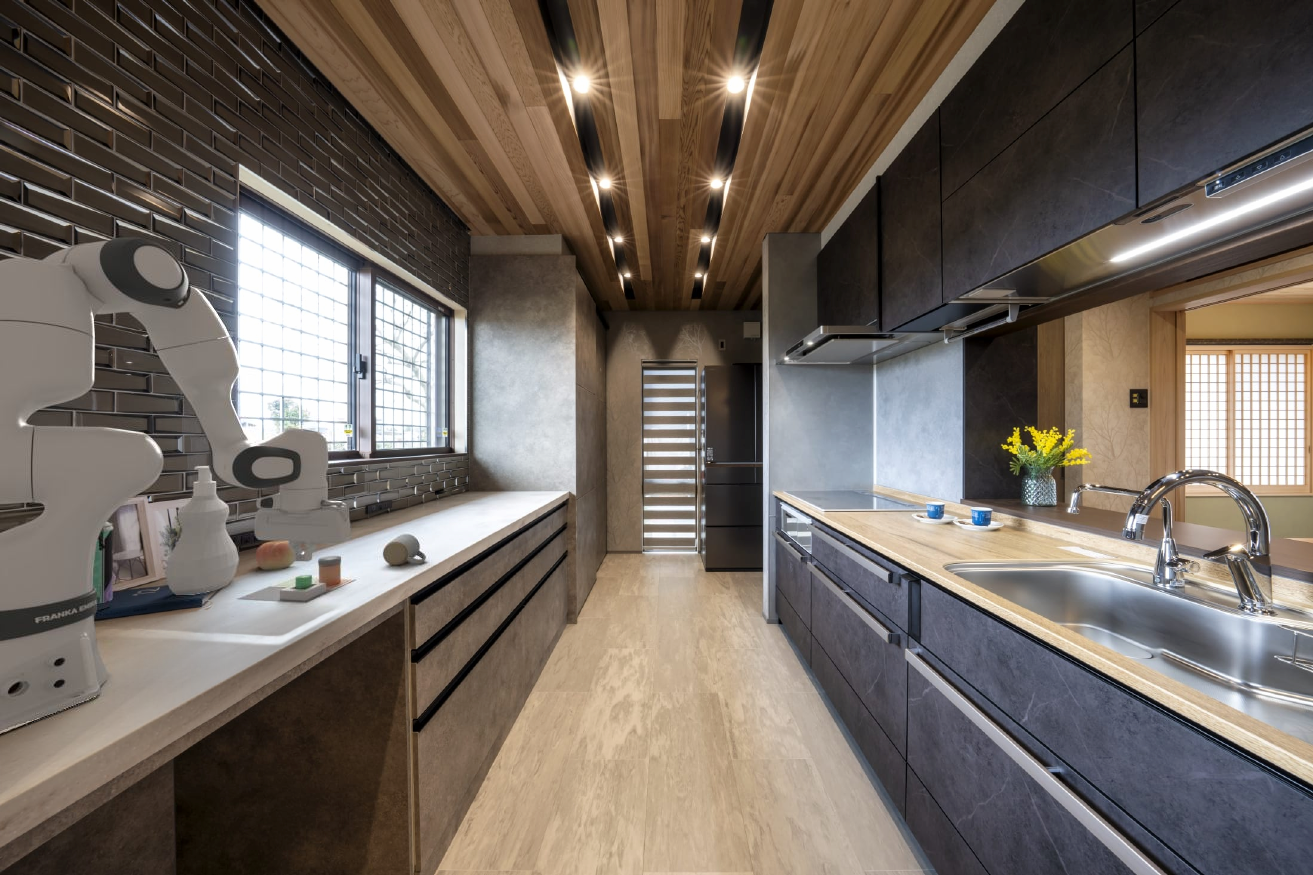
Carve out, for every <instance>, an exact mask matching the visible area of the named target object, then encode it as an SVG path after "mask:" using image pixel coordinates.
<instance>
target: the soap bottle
mask: <svg viewBox="0 0 1313 875" xmlns="http://www.w3.org/2000/svg"><path fill="white" fill-rule="evenodd" d="M193 470H195V471H196V470H197V472H198V475H197V476H198V477H197V481H193V487H192V488H193V490H192V491H193V492H192V494H193V495H192V496H191V499H190V500H189V501H187V503H186V504H185V505H184V506H183V507H182V508H181V509H179V511H178V515H177V519H178V523H179V525H180V526H181V535H180V537H179V539H178V542H177V543H176V544H175V546H174V548H173V550H172V552H171V553H170V555H169V557H168V560H167V564H166V568H165V571H164V574H165V578H166V581H167V584H168V588H169V590H170V591H171V592H172V593H173V594H175V595H176V596H177V595H186V594H197V593H205V592H207V591H212V592H215V591H217V590H221V589H223V588H224V587H227V586H228V585H229V584H230V583H231V581H232V580H233V578H234V577H235V575H236V571H237V569H238V565H239V562H240V557H239V555H238V554H239V553H238V550H237V546H236V544H235V543H234V542H233V539H232V538H231V536H230V535H229V533H228V531H227V528H226V527H227V526H226V525H227V524H226V522H227V519H228V517H229V514H230V508H229V505H228V504H227V503H226V502H225V501H223V500H222V499H220V498H219V497H218V494H217V481H214V480H212V478H213V475H212V474H211V472H210V469H209V465H201V466H198V465H197V466H195V467H193ZM205 594H206V593H205Z"/></svg>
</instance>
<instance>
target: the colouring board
mask: <svg viewBox="0 0 1313 875" xmlns="http://www.w3.org/2000/svg"><path fill="white" fill-rule="evenodd" d="M296 577H297V576H294V577H291V578H288V579H286V580H283V581H280V582H277V583H275V584H271V585H270V586H267V587H265V588H262V589H259V590H257V591H254V592H251V593H248V594H246V595H244V596H241V597H238V598H237V600H244V601H245V600H247V601H264V602H265V601H268V602H269V601H270V602H282V603H283V602H289V603H303V604H305V603H309V602H311V601H314V600H317V599H318V598H320V597H322V596H324V595H327V594H329V593H331V592H333V591H335V590H337V589H339V588H342V587H344V586H346V585H348V584H351V583H353V582H355V581H356V579H355V578H354V579H352V578H351V579H349V578H341V582H340V583H338V584H336V585H331V586H326V583H319V577H313V576H312V587H310V588H307V589H295V581H296Z"/></svg>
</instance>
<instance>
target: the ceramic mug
mask: <svg viewBox="0 0 1313 875" xmlns="http://www.w3.org/2000/svg"><path fill="white" fill-rule="evenodd" d="M420 549H421V546H420V542H419V540H418V538H416V536H414V535H413V534H410V533H403V534H400V535H398V536H397V537H396V538H394V539H392V540H390V541H389V542H388V543H387V544H386V545H385V547H384V548H383V551H382V557H383V559H384V561H385V562H386V563H387V564H389V565H390V566H400V565H403V564H405V563H407V562H408V563H411V564H413V565H414V564H415V565H421V564H422V565H423V563H425V561H426V558H427V556H426V554H425V553H423V552H422V551H420ZM416 557H418V558H419V559H418V558H416Z"/></svg>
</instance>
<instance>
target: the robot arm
mask: <svg viewBox="0 0 1313 875" xmlns="http://www.w3.org/2000/svg"><path fill="white" fill-rule="evenodd" d="M117 313H119V314H120V313H129V314H130V315H131V316H132V317H134V318H135V319H136V320H138V321H139V322H140V323H141V325H143V327H144V328H145V330H146V333H147V335H148V337H149V339H150V342H151V344H152V345H153V348H154V350H155V351H156V354H157V355H158V356H159V359H160V361H161V362H162V363H163V366H164V367H165V368H166V370H167V371H168V373H169V375H170V377H172V379H173V380H174V382H175V383H176V384H177V386H178V387H179V389H180V390H181V392H182V393H183V395H184V396H185V398H186V400H188V402H189V404H190V407H191V409H192V411H193V413H194V415H195V417H196V420H197V422H198V424H199V426H200V428H201V430H202V432H203V435H204V437H205V439H206V442H207V445H208V466H209V469H210V472H211V474H212V478H214V479H215V480H217V482H219V483H220V484H223V485H224V486H225V485H226V486H229V487H237V488H238V487H239V488H244V489H249V490H264V489H268V488H273V487H277V486H278V487H279V492H278V493H274V494H271V495H268V496H263V497H260V498H257V500H256V504H255V505H256V508H258V509H257V511H256V513H255V516H254V524H253V526H254V527H253V528H254V529H253V530H254V531H253V532H254V536H255V537H256V539H257V540H258V541H271V542H272V541H289V547H290V549H291V550H292V552H293V554H294V562H305V563H306V562H307V563H308V562H310V561H312V559H313V552H314V551H315V550H316V549H317V548H316V547H317V546H318V543H319V544H320V543H321V544H337V545H338V544H341V543H345V542H347V541H349V540H350V538H351V536H352V531H351V530H352V528H351V521H350V508H349V506H348V505H347V504H346V503H344V502H343V501H339V500H338V501H333V500H329V499H328V498H329V497H328V496H329V493H328V492H329V484H328V481H327V480H328V479H327V473H328V472H327V471H328V470H329V449H328V442H327V438H326V436H325V435H324V434H323V433H322V432H320V431H318V430H314V429H308V428H301V427H286V428H284V429H283V430H282V431H280V432H279V433H277V434H274V435H272V436H270V437H267V438H264V439H262V440H258V441H253V440H252V439H251V438H249V436H248V435H247V434H246V432H245V430H244V428H243V425H242V423H241V420H240V419H239V417H238V416H239V415H238V414H237V411H236V409H235V407H234V405H233V402H232V390H233V387H234V384H235V383H236V380H238V377H239V376H240V373H241V369H242V368H241V365H240V364H241V362H240V359H239V356H238V352H237V349H236V346H235V344H234V342H233V340H232V338H231V336H230V334H229V332H228V330H227V328H226V326H225V324H224V323H223V321H222V320H221V318H220V316H219V315H218V313H217V312H216V310H215V309H214V307H213V305H212V304H211V303H210V301H209V300H208V299H207V298H206V296H205V295H204V294H203V293H202V292H201V291H200V290H199V289H198V288H196V287H194V286H191V282H190V279H189V277H188V274H187V273H186V271H185V269H184V267H183V265H182V264H181V262H179V260H178V259H177V258H176V256H174V254H173V253H172V252H171V251H169V250H168V249H167V248H166V247H164V246H163V245H161V244H160V243H158V242H156V241H154V240H151V239H146V238H142V237H131V236H130V237H128V236H127V237H115V238H111V239H110V240H102V241H95V242H85V243H79V244H74V245H71V246H69V247H66V248H63V249H60V250H58V251H51V252H49V253H48V252H47V253H45V254H43V255H41V256H39V257H37V259H35V258H25V257H22V258H21V257H15V258H14V257H13V258H5V259H2V260H0V505H8V504H10V505H11V504H21V503H22V504H23V503H24V504H25V503H26V504H27V503H35V504H42V505H43V506H44V510H43V511H42V513H41V514H40V515H39V516H38V517H36V518H34V519H33V520H31V521H29V522H25V523H23V524H20V525H17V526H15V527H12V528H9V529H7V530H5V531H4V530H3V531H2V532H0V731H2V730H4V729H8V728H9V727H12V726H16V725H18V724H22V723H26V722H27V721H32V720H35V719H37V718H41V717H44V716H46V715H49V714H52V715H54V714H53V713H55V714H57V713H58V712H57V711H60V710H62V711H64V710H63V709H64V708H67V707H70V708H72V707H71V706H72V705H75V704H77V703H79V702H82V701H86V700H87V699H90V698H93V697H94V696H97V695H99V694H100V695H101V687H102V685H104V683H105V682H106V681H107V680H108V678H109V672H108V671H107V669H106V667H105V665H104V663H103V659H102V657H101V654H100V650H99V646H98V641H97V635H96V628H95V617H96V613H97V612H98V611H97V589H96V588H94V587H93V565H94V556H95V549H96V544H97V540H98V537H99V534H100V532H101V530H102V528H103V526H104V525H105V523H106V522H108V520H109V519H110V518H111V517H112V516H113V514H114V513H115V512H116V511H117V510H118V509H119V508H120V507H121V506H123V505H124V504H125V503H127V502H128V501H129V500H131V499H132V498H134V497H136V496H137V495H138V494H141V493H143V492H145V491H146V490H148V489H149V488H150V487H152V485H153V484H154V483H155V482H156V481H157V480H158V478H160V475H161V473H162V471H163V468H164V456H163V455H164V454H163V451H162V449H161V447H160V445H158V443H157V442H156V441H155V440H154V439H153V438H152V437H151V436H149V435H148V434H147V433H144V432H141V431H135V430H134V431H133V430H129V429H128V430H127V429H121V428H113V427H106V426H72V425H71V426H69V425H68V426H67V425H66V426H65V425H64V426H63V425H61V426H60V425H48V426H47V425H42V426H41V425H34V424H28V423H27V421H28V419H29V417H30V416H31V415H32V414H34V413H36V412H37V411H38V410H41V409H45V408H47V407H51V406H55V405H59V404H62V403H67V402H69V401H72V400H75V399H78V398H80V397H82V396H84V395H86V393H88V392H90V390H91V389H92V387H93V386H94V384H95V371H96V370H95V368H96V367H95V363H96V361H95V356H96V355H95V352H96V347H95V345H96V339H95V337H96V336H95V323H94V320H95V317H100V316H103V315H108V314H117ZM303 543H304V547H305V550H304V551H303V549H302V547H301V545H303ZM100 695H99V696H100ZM97 697H98V696H97ZM93 699H94V698H93ZM86 702H87V701H86ZM75 706H76V705H75ZM56 712H57V713H56ZM60 712H61V711H60ZM44 718H45V717H44Z"/></svg>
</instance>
